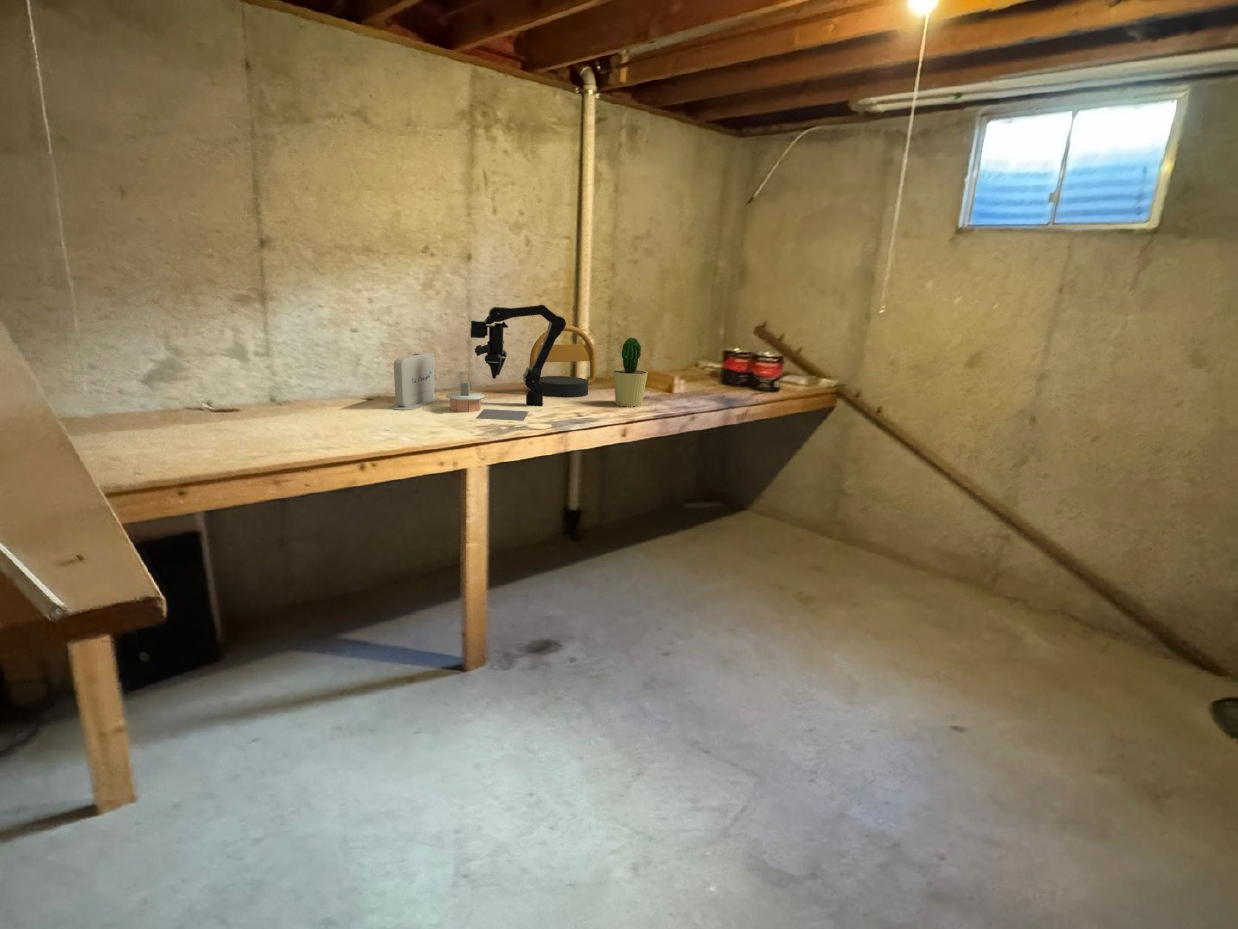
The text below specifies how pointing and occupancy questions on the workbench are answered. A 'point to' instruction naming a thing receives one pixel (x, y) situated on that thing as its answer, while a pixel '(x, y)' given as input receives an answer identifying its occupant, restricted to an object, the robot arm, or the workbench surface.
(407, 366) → the wireless router
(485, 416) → the mat
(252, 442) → the workbench surface
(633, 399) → the potted cactus
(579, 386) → the chair
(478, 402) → the bowl
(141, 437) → the workbench surface
